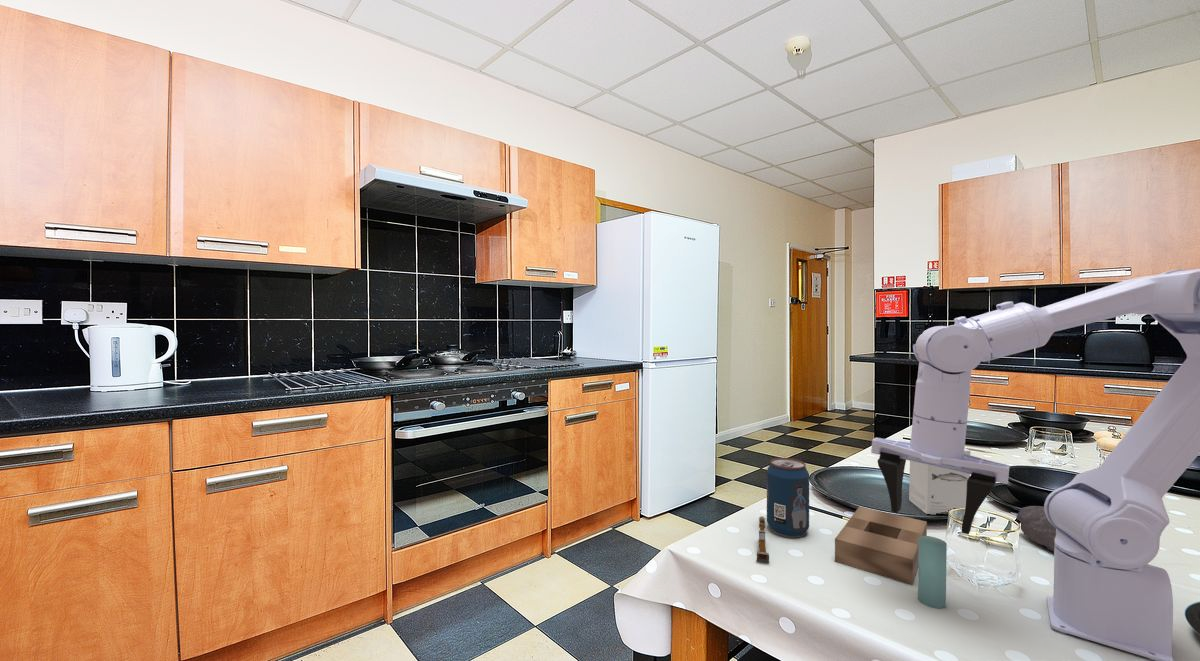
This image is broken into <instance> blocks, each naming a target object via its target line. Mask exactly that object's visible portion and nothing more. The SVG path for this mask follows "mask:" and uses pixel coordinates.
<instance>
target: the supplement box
mask: <svg viewBox="0 0 1200 661" xmlns="http://www.w3.org/2000/svg"><path fill="white" fill-rule="evenodd" d="M909 443H911V439H910V441H909ZM964 454H967V455H971V450H969V449H968V448H966V447H965V448H964ZM970 476H971V474H966V473H962V472H958V471H953V470H949V469H945V468H940V467H936V466H931V465H927V464H923V463H918V462H914V461H910V460H909V485H908V486H909V492H908V493H909V494H908V497H909V499H908V500H909V502H910V503H911V504H913V505H914V506H915V507H916V508H918V509H919V510H920V511H922V512H923V513H924V514H926V515H927V514H930V515H936V513H941V512H945V511H946V512H948V510H950V509H953V508H966V493H967V480H968V478H969V477H970Z"/></svg>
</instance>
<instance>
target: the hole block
mask: <svg viewBox="0 0 1200 661" xmlns="http://www.w3.org/2000/svg"><path fill="white" fill-rule="evenodd" d="M927 528H928V521H925V520H921V519H918V518H917V519H916V518H913V517H908V516H904V515H903V516H902V515H898V514H896V513H895V514H894V513H890V512H885V511H882V510H878V509H872V508H868V507H863V506H858V507H857V508H856V510H855V511H854V513H853V514H852V515H851V516H850V518H849V520H847V522H846V524H845V525H844V526H843V528H842V529H841V530H840V531H839V533H838V534H837V536H836V537H835V538H834V562H836V563H839V564H843V565H845V566H849V567H852V568H853V567H854V568H857V569H859V570H862V571H866V572H870V573H872V574H876V575H879V576H881V577H882V576H883V577H886V578H889V579H893V580H896V581H899V582H903V583H906V584H910V585H913V584H914V581H915V578H916V575H917V572H918V556H919V537H921V536H928V535H927V534H928V533H927V532H928V530H927Z"/></svg>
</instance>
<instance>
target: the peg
mask: <svg viewBox="0 0 1200 661" xmlns="http://www.w3.org/2000/svg"><path fill="white" fill-rule="evenodd" d="M947 545H948V544H947V542H946V541H945V540H943V539H941V538H938V537H934V536H930V535H929V536H928V535H927V536H921V537H919V556H918V570H917V572H918V576H917V583H918V584H917V599H918V600H919V602H920V603H922V604H923V605H925V606H927V607H930V608H934V609H944V608H946V607H947V554H948V552H947V551H948V550H947V549H948V548H947Z"/></svg>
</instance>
